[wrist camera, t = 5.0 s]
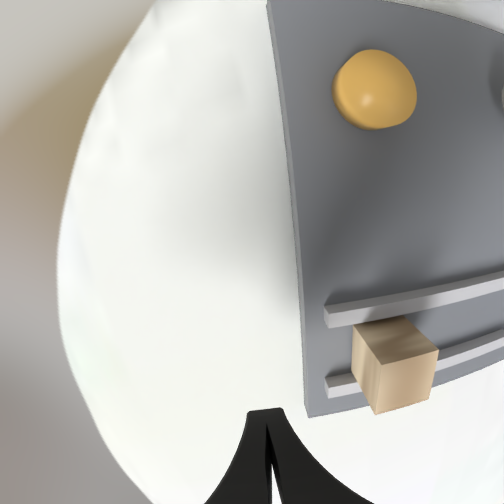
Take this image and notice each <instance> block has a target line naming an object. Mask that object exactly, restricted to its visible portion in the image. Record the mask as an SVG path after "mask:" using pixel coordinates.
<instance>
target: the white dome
mask: <svg viewBox="0 0 504 504" xmlns="http://www.w3.org/2000/svg"><path fill="white" fill-rule="evenodd" d="M502 104H503V109H504V85H503V89H502Z"/></svg>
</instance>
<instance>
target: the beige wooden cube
mask: <svg viewBox="0 0 504 504" xmlns="http://www.w3.org/2000/svg"><path fill="white" fill-rule="evenodd" d="M438 353H439V349H438V348H437V347H436V346H435V345H434V344H433V343H432V342H431V341H430V340H429V339H428V338H427V337H425V336H424V335H423V334H422V333H421V332H420V331H419V330H418V329H417V328H416V327H415V326H414V325H413V324H412V323H411V322H410V321H409V320H408V319H407V318H406V317H404V316H403V315H399V316H394V317H390V318H385V319H380V320H375V321H369V322H364V323H359V324H353V337H352V364H351V371H352V373H353V375H354V377H355V378H356V380H357V382H358V384H359V386H360V388H361V390H362V392H363V393H364V395H365V397H366V399H367V401H368V403H369V405H370V407H371V408H372V410H373V412H374V414H375V415H377V414H381V413H385V412H388V411H392V410H395V409H399V408H402V407H405V406H409V405H412V404H415V403H418V402H421V401H424V400H427V399H429V395H430V391H431V387H432V382H433V378H434V373H435V369H436V364H437V359H438Z"/></svg>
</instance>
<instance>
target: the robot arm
mask: <svg viewBox="0 0 504 504" xmlns="http://www.w3.org/2000/svg"><path fill="white" fill-rule="evenodd" d="M272 466H273V470H274V474H275V478H276V483H277V487H278V491H279V494H280V498H281V502H282V504H374V503H372V502H370V501H368V500H366V499H365V498H363V497H361V496H360V495H358V494H357V493H355V492H353V491H352V490H351V489H349V488H348V487H347V486H345V485H344V484H343V483H341V482H340V481H339V480H337V479H336V478H335V477H334V476H333V475H331V474H330V473H329V472H328V471H327V470H326V469H325V468H324V467H323V466H322V465H321V464H320V463H319V462H318V461H317V460H316V459H315V458H314V457H313V456H312V454H311V453H310V452H309V451H308V450H307V448H306V447H305V446H304V445H303V443H302V442H301V440H300V439H299V438H298V436H297V435H296V433H295V432H294V430H293V429H292V427H291V425H290V423H289V422H288V420H287V418H286V416H285V413H284V411H283V409H282V408H280V407H279V408H272V409H264V410H255V411H249V412H248V413H247V418H246V423H245V428H244V431H243V435H242V438H241V440H240V443H239V446H238V448H237V451H236V453H235V455H234V457H233V460H232V462H231V464H230V466H229V468H228V470H227V472H226V473H225V475H224V477H223V478H222V480H221V482H220V483H219V485H218V486H217V488H216V489H215V491H214V492H213V493H212V495H211V496H210V497H209V499H208V500H207V501H206V502H205V504H272Z"/></svg>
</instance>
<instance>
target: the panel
mask: <svg viewBox="0 0 504 504" xmlns="http://www.w3.org/2000/svg"><path fill="white" fill-rule="evenodd" d="M266 8H267V14H268V20H269V27H270V33H271V39H272V46H273V53H274V60H275V67H276V74H277V81H278V88H279V96H280V104H281V111H282V120H283V128H284V136H285V145H286V154H287V163H288V172H289V182H290V192H291V202H292V213H293V224H294V236H295V248H296V260H297V274H298V288H299V303H300V319H301V337H302V357H303V381H304V404H305V408H306V411H307V415H308V418H312V417H318V416H323V415H328V414H333V413H338V412H343V411H348V410H352V409H357V408H361V407H365V406H369V403H368V401H367V399H366V397H365V395H364V393H363V392H362V390H361V388H360V386H359V384H358V382H357V380H356V378H355V377H354V375H353V373H352V371H351V364H352V337H353V324H359V323H364V322H369V321H375V320H380V319H385V318H390V317H394V316H399V315H403V316H404V317H406V318H407V319H408V320H409V321H410V322H411V323H412V324H413V325H414V326H415V327H416V328H417V329H418V330H419V331H420V332H421V333H422V334H423V335H424V336H425V337H427V338H428V339H429V340H430V341H431V342H432V343H433V344H434V345H435V346H436V347H437V348H438V349H439V353H438V359H437V364H436V369H435V373H434V378H433V382H432V387H435V386H438V385H441V384H444V383H446V382H449V381H452V380H455V379H457V378H460V377H463V376H465V375H468V374H470V373H473V372H475V371H478V370H480V369H483V368H485V367H487V366H490V365H492V364H494V363H497V362H499V361H501V360H503V359H504V109H503V104H502V89H503V85H504V34H502V33H499V32H497V31H494V30H491V29H489V28H486V27H483V26H480V25H478V24H475V23H472V22H469V21H466V20H463V19H459V18H456V17H453V16H449V15H446V14H442V13H439V12H435V11H431V10H427V9H423V8H418V7H414V6H409V5H404V4H399V3H393V2H388V1H382V0H267V5H266ZM370 49H372V50H380V51H384V52H387V53H389V54H391V55H393V56H394V57H396V58H397V59H398V60H400V61H401V62H402V63H403V64H404V65H405V66H406V68H407V69H408V70H409V72H410V74H411V75H412V77H413V80H414V82H415V86H416V91H417V101H416V106H415V109H414V111H413V113H412V114H411V116H410V117H409V118H408V119H407V120H406V121H404V122H402V123H401V124H398V125H395V126H391V127H387V128H383V129H379V130H364V129H360V128H358V127H356V126H354V125H352V124H350V123H349V122H348V121H347V120H345V119H344V118H343V117H342V115H341V114H340V113H339V111H338V110H337V108H336V106H335V104H334V101H333V98H332V91H331V89H332V81H333V78H334V76H335V74H336V72H337V71H338V70H339V69H340V68H341V67H342V66H343V65H344V64H345V63H346V62H347V61H348V60H349V59H350V58H351V57H353V56H354V55H355V54H357V53H358V52H361V51H364V50H370ZM432 387H431V388H432Z"/></svg>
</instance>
